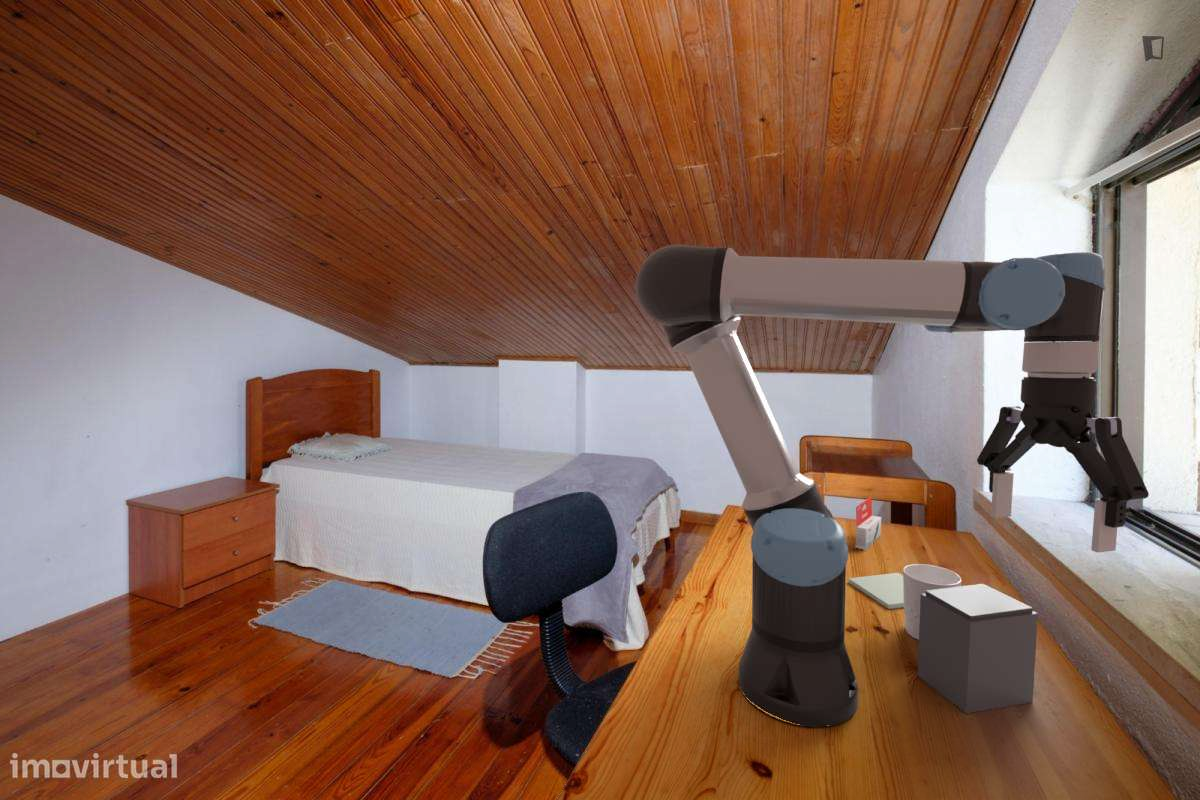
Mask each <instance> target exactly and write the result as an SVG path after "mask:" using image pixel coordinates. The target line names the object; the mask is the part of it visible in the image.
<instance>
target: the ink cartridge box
mask: <svg viewBox="0 0 1200 800" xmlns="http://www.w3.org/2000/svg"><path fill="white" fill-rule="evenodd" d="M872 498H873V497H872V496H869V497H868V498H867V499H865V500H864V501H862V502H861V503H860V504H858V505H857V506H856V507H855V511H856V514H855V516H856V519H855V522H856V523H855V524H856V525H855V526H856V528H855V544H854V548H855V549H856V548H860V549H859V550H861V549H864V550H863V551H867V550H868V549H869V548H870V547H871V546H872V545H873V544H872V543H873V542H874V541H875V540H876V539H877V538H878V537H879V536H880V537H881V534H882V533H881V530H882V517H881V516H875V515H873V509H872V508H873V502H872ZM864 505H865V508H864ZM863 508H864V509H863ZM871 544H872V545H871ZM870 545H871V546H870ZM869 546H870V547H869ZM868 547H869V548H868ZM867 548H868V549H867ZM866 549H867V550H866Z"/></svg>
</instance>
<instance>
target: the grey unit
mask: <svg viewBox="0 0 1200 800" xmlns="http://www.w3.org/2000/svg"><path fill="white" fill-rule="evenodd" d="M1033 609H1034V608H1033V607H1032V606H1030V605H1028V604H1026V603H1023V602H1021V601H1019V600H1017V599H1015V598H1013V597H1011V596H1009V595H1007V594H1004V593H1003V592H1001V591H999V590H997V589H994V588H993V587H990V586H989V585H987V584H984V583H977V584H970V585H969V584H968V585H961V586H959V587H951V588H943V589H935V590H927V591H926V593H923V594H921V599H920V625H919V640H918V655H917V656H918V657H917V677H919V679H921V680H922V681H923V682H925V683H926V684H927V685H929V686H930V687H931V688H932V689H933V690H935V691H936V692H937V693H938V694H940V695H941V696H943V697H944V698H945V699H947V700H948V701H949V702H950V703H952V704H953V705H954V704H955V705H956V707H957V706H958V707H959V708H960V709H959V708H958V707H957V708H958V709H959V710H961V711H962V712H963V711H964V712H965V713H964V714H966V713H968V714H970V713H969V712H974V713H978V712H977V711H979V712H984V711H990V710H989V709H991V710H996V708H997V709H1001V708H1008V707H1013V706H1018V705H1026V704H1031V703H1033V701H1034V700H1033V699H1034V685H1035V684H1034V683H1035V669H1036V667H1035V666H1036V655H1037V654H1036V652H1037V651H1036V650H1037V637H1038V636H1037V635H1038V621H1039V620H1038V619H1039V613H1037V612H1036V611H1034V610H1033ZM955 705H954V706H955Z"/></svg>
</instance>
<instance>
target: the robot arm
mask: <svg viewBox="0 0 1200 800" xmlns="http://www.w3.org/2000/svg"><path fill="white" fill-rule="evenodd" d="M1105 277H1106V276H1105V262H1104V258H1103V257H1102V256H1101V255H1100V254H1098V253H1095V252H1090V251H1089V252H1087V251H1086V252H1085V251H1084V252H1082V251H1081V252H1077V251H1076V252H1065V253H1060V254H1059V253H1055V254H1048V255H1043V256H1042V255H1041V256H1038V257H1014V258H1010V259H1006V260H1003V261H961V260H927V259H925V260H923V259H922V260H921V259H888V258H887V259H881V258H880V259H879V258H878V259H877V258H872V259H871V258H837V257H835V258H834V257H833V258H831V257H799V256H798V257H791V256H790V257H789V256H752V255H751V256H750V255H749V256H747V255H743V256H741V255H739V254H738V253H737V252H736V251H735V250H734V249H733V248H732V247H715V246H714V247H713V246H702V245H691V244H681V243H680V244H678V243H677V244H668V245H665V246H662V247H660V248H658V249H657V250H655V251H653V252H652V253H650V255H648V257H646V259H645V260H644V261H643V262H642V264H641V266H640V267H639V268H638V272H637V275H636V280H635V293H636V297H637V301H638V304H639V305H640V307H641V309H642V310H643V311H644V313H645V314H646V315H647V316H648V317H649V318H650V319H651V320H653V321H654V322H656V323H658V324H660V325H661V326H662V330H663V331H664V333H665V336H666V338H667V340H668V342H669V345H670V347H671V350H672V351H673V352H677V353H679V354H681V355H684V356H685V358H686V360H687V362H688V363H689V364H688V365H689V366H690V369H691V370H692V373H693V375H694V377H695V379H696V381H697V384H698V387H699V389H700V391H701V393H702V395H703V397H704V400H705V402H706V404H707V407H708V409H709V411H710V414H711V416H712V417H713V418H712V419H713V421H714V422H715V424H716V427H717V430H718V431H719V433H720V436H721V438H722V440H723V443H724V445H725V447H726V449H727V452H728V454H729V456H730V458H731V461H732V463H733V466H734V467H735V469H736V472H737V474H738V476H739V479H740V480H741V482H742V485H743V488H744V490H745V493H746V494H745V497H744V500H743V502H742V504H741V507H742V508H743V511H744V513H745V516H746V518H747V520H748V523H749V525H750V527H751V530H752V536H751V539H750V550H751V552H752V553H751V554H752V565H751V566H752V567H751V568H752V575H751V576H752V579H751V581H752V584H751V585H752V587H751V588H752V589H751V591H752V593H751V597H752V599H751V600H752V601H751V609H752V610H751V614H752V615H751V630H750V632H749V636H748V637H747V641H746V644H745V647H744V650H743V652H742V656H741V658H740V661H739V663H738V685H739V684H740V686H739V688H740V687H741V689H742V691H743V693H744V694H745V696H746V697H747V698H748V699H749V700H750V701H751V702H753V703H754V704H755V705H757V706H758V707H760V708H761V709H763V710H764V711H766V712H768V713H770V714H772V715H774V716H777V717H779V718H781V719H783V720H786V721H789V722H792V723H795V724H800V725H803V726H802V727H804V726H811V727H810V728H814V727H813V726H816V727H815V728H818V727H817V726H827V725H834V724H837V725H839V724H838V723H840V722H842V721H845V720H846V721H848V720H849V719H851V718H852V717H853V716H854V715H855V713H856V711H857V710H858V704H859V687H858V685H859V684H858V681H857V679H856V674H855V672H854V668H853V666H852V663H851V659H850V655H849V653H848V649H847V648H846V647H847V646H846V644H845V632H846V631H845V626H846V623H845V622H846V585H847V584H846V582H847V581H846V579H847V578H846V577H847V575H846V573H847V562H848V560H849V549H848V548H849V547H848V543H847V537H846V533H845V531H844V528H843V527H842V526H841V525H840V524H839V523H838V522H837V521H836V520H835V517H834V516H833V514H832V512H831V511H830V509H829V508H828V507H827V505H826V504H825V502H824V501H823V498H822V496H821V494H820V492H819V490H818V487H817V485H816V483H815V481H814V479H813V478H811V477H810V476H807V475H804V474H802V473H801V472H800V471H799V470H798V468H797V466H796V462H795V461H794V459H793V456H792V455H791V452H790V450H789V447H788V445H787V443H786V441H785V439H784V437H783V434H782V432H781V430H780V428H779V425H778V423H777V422H776V419H775V416H774V415H773V412H772V410H771V407H770V406H769V404H768V403H769V402H768V401H767V398H766V396H765V395H764V392H763V390H762V388H761V386H760V382H759V381H758V379H757V376H756V373H754V370H753V368H752V366H751V363H750V362H749V359H748V357H747V354H746V352H745V349H744V348H743V345H742V344H741V341H740V338H739V336H738V335H737V331H738V327H739V325H740V324H741V323H740V322H741V319H742V318H741V317H740V316H749V317H751V316H753V317H770V318H789V319H807V320H825V321H827V320H828V321H844V322H845V321H846V322H863V323H865V322H867V323H882V324H884V323H885V324H902V325H918V326H919V325H920V326H924V328H925V330H927V331H928V332H932V333H933V332H935V333H939V332H940V333H949V334H953V333H961V332H962V333H963V332H965V333H966V332H972V333H973V332H993V331H996V332H997V331H998V332H999V331H1024V336H1023V337H1024V338H1023V351H1022V352H1023V353H1022V363H1021V364H1022V365H1021V371H1022V372H1024V373H1027V375H1025V376H1023V378H1021V387H1020V401H1021V403H1023V409H1022V407H1021V406H1019V405H1013V406H1010V405H1009V406H1002V407H1001V408H1000V410H999V414H998V415H999V416H998V421H997V423H996V425H995V426H994V428H993V430H992V432H991V433H990V435H989V437H988V439H987V440H986V443H985V445H983V448H982V450H981V451H980V453H979V455H978V457H977V459H976V463H977V464H978V465H979V466H983V467H985V468H986V469H987V470H988V472H989V480H988V481H989V482H988V483H989V484H988V489H989V492H990V493H992V494H991V509H990V510H991V511H990V517H992V518H994V519H998V518H999V519H1000V518H1008V517H1009V518H1010V517H1012V505H1013V492H1014V491H1013V489H1014V488H1013V487H1014V472H1011V470H1012V469H1011V467H1012V466H1014V465H1015V464H1016V463H1017V462H1018V461H1019V460H1020V459H1021V458H1022V457H1023V456H1024V455H1026V453H1028V452H1029V451H1030V450H1031V449H1032V448H1033V447H1034V446H1035V445H1036V444H1039V445H1049V446H1052V447H1055V448H1064V449H1065V450H1066V451H1067V452H1068V453H1070V454H1072V456H1073V457H1074V458H1075V460H1076V461H1077V463H1078V464H1079V465H1080V467H1081V468H1082V469H1083V471H1084V472H1085V474H1086V476H1088V478H1089V479H1090V481H1091V482H1092V484H1093V485H1094V486H1095V488H1096V489H1097V490H1098V492H1099V494H1100V495H1101V497H1100V498H1095V499H1094V511H1093V522H1092V524H1093V525H1092V534H1091V535H1092V537H1091V546H1090V547H1091V551H1092V552H1096V553H1104V552H1105V553H1106V552H1113V551H1116V548H1117V536H1118V528H1123V527H1124V525H1125V523H1126V515H1127V503H1128V502H1129V501H1132V500H1133V501H1134V500H1143V499H1147V498H1149V495H1150V494H1149V491H1148V489H1147V486H1146V485H1145V482H1144V480H1143V478H1142V476H1141V474H1140V471H1139V468H1138V467H1137V465H1136V463H1135V460H1134V459H1133V457H1132V454H1131V452H1130V450H1129V448H1128V446H1127V443H1126V440H1125V438H1124V436H1123V425H1122V424H1123V422H1122V420H1121V418H1119V417H1117V416H1113V417H1112V416H1111V417H1110V416H1109V417H1098V418H1097V417H1095V418H1094V417H1093V415H1092V408H1093V406H1094V405H1095V403H1096V395H1097V383H1098V382H1097V379H1095V377H1091V374H1095V373H1096V372H1098V365H1099V364H1098V362H1099V349H1100V330H1101V322H1102V312H1103V303H1104V292H1106V286H1105V279H1106V278H1105ZM1021 422H1022V424H1023V426H1024V427H1022V428H1021V429H1020V431H1018V432H1017V433H1016V431H1017V429H1018V427H1019V425H1020V424H1021ZM1090 431H1091V433H1092V434H1094V435H1095V439H1096V442H1095V440H1094V439H1093V438H1092V437H1091V435H1090V434H1089V432H1090ZM1015 433H1016V435H1015V436H1014V434H1015ZM1013 436H1014V439H1013V440H1012V437H1013ZM1010 441H1011V442H1010ZM1009 442H1010V443H1009ZM1097 446H1098V447H1099V449H1100V451H1101V453H1102V454H1101V453H1100V451H1099V450H1098V449H1097ZM741 689H740V690H741ZM742 691H741V692H742ZM743 693H742V694H743ZM745 696H744V697H745ZM852 715H853V716H852ZM851 716H852V717H851ZM850 717H851V718H850ZM847 719H848V720H847ZM846 721H845V722H846ZM840 724H841V723H840ZM834 726H835V725H834Z"/></svg>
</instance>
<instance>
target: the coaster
mask: <svg viewBox="0 0 1200 800" xmlns="http://www.w3.org/2000/svg"><path fill="white" fill-rule="evenodd" d="M848 583H849V584H850V585H852V586H853V587H855V588H856V589H858V590H859V591H861V592H862V593H864V594H865V595H867V596H868V597H870V598H871V599H872V600H874V601H876V602H877V603H879V604H880V605H882V607H884V608H887V609H888V610H892V609H899V608H900V609H901V608H904V600H903V573H902V574H901V573H900V572H893V573H885V574H876V575H868V576H865V575H864V576H858V577H849V578H848Z"/></svg>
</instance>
